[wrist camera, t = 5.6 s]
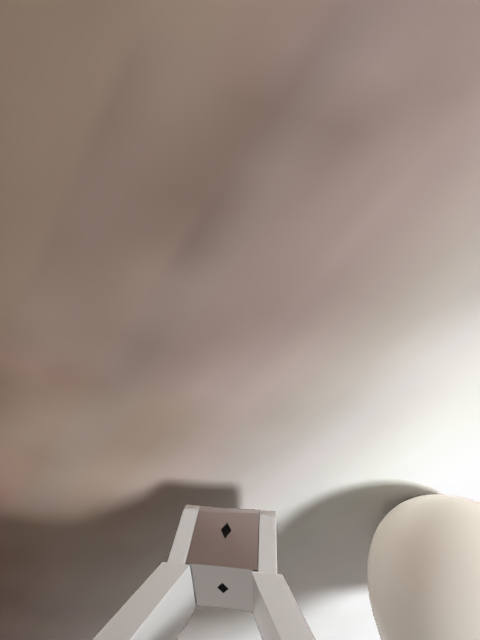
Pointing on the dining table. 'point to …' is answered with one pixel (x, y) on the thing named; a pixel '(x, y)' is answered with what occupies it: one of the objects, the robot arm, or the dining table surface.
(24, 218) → the dining table surface
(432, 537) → the cue ball
